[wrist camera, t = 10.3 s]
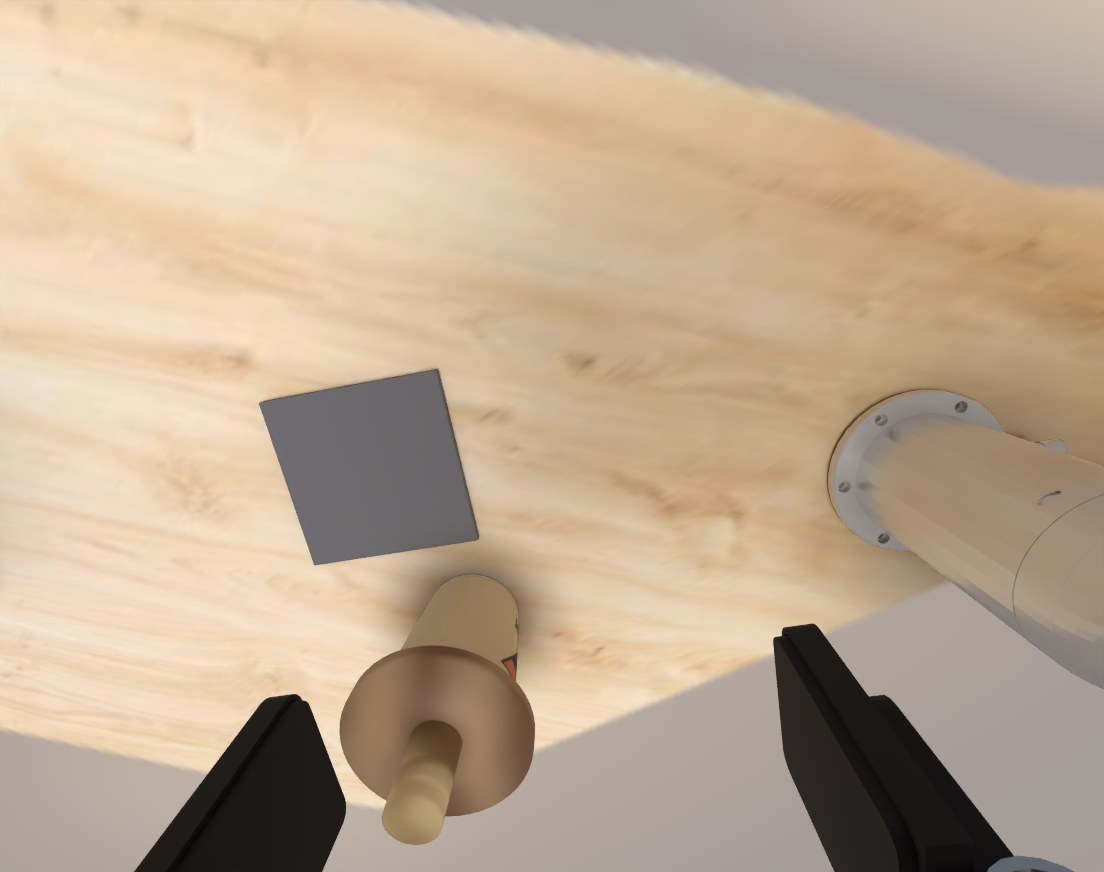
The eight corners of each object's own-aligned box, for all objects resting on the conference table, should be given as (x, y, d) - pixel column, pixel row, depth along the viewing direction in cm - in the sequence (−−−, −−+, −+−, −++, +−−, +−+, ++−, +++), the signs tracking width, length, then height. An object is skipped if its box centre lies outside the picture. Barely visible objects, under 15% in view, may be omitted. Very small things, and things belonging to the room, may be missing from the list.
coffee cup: (502, 674, 46) (479, 802, 35) (404, 634, 45) (347, 751, 34) (546, 591, 44) (537, 699, 32) (444, 547, 43) (397, 642, 31)
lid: (514, 633, 31) (500, 715, 25) (550, 788, 34) (546, 894, 28) (324, 659, 32) (267, 743, 26) (376, 807, 35) (336, 913, 29)
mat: (437, 369, 39) (435, 370, 38) (479, 536, 43) (477, 540, 42) (263, 401, 40) (258, 403, 40) (317, 561, 44) (314, 565, 43)
